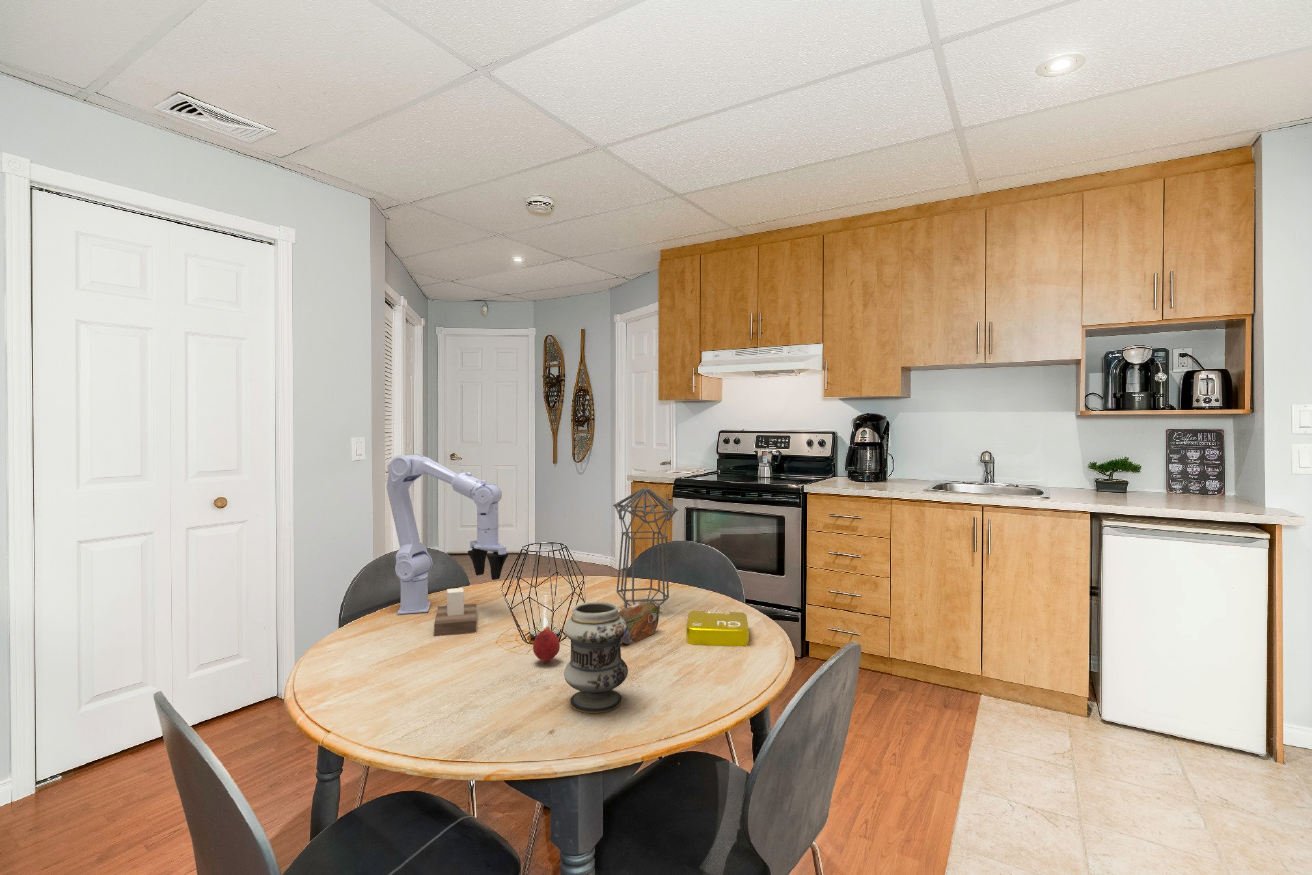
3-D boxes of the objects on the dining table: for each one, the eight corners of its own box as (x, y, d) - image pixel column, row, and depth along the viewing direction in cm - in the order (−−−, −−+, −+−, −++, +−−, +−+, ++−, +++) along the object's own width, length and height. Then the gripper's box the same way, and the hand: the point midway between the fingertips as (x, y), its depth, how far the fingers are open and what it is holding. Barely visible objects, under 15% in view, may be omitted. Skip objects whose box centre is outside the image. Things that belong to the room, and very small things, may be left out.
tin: (621, 648, 144) (621, 613, 144) (611, 645, 146) (611, 610, 146) (659, 632, 156) (659, 599, 156) (650, 629, 158) (650, 597, 158)
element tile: (746, 628, 160) (746, 610, 160) (749, 648, 145) (749, 628, 145) (688, 626, 162) (688, 608, 162) (685, 646, 147) (685, 626, 147)
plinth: (438, 616, 168) (438, 606, 168) (476, 614, 170) (476, 603, 170) (434, 635, 152) (434, 623, 152) (476, 632, 155) (476, 620, 155)
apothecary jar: (596, 683, 124) (596, 594, 124) (640, 699, 117) (641, 605, 117) (550, 703, 115) (550, 607, 115) (595, 723, 107) (596, 620, 107)
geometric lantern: (609, 606, 179) (612, 486, 179) (660, 603, 184) (663, 486, 184) (622, 621, 164) (625, 490, 164) (678, 617, 169) (680, 490, 169)
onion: (553, 668, 132) (554, 631, 132) (528, 666, 133) (528, 629, 133) (563, 658, 137) (563, 623, 137) (539, 656, 139) (539, 621, 138)
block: (446, 611, 162) (446, 589, 162) (462, 610, 164) (462, 587, 164) (447, 616, 159) (447, 592, 159) (463, 614, 160) (463, 591, 160)
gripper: (460, 527, 172) (460, 575, 172) (490, 532, 162) (490, 583, 162) (482, 524, 177) (482, 571, 177) (512, 529, 168) (512, 579, 168)
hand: (487, 576), depth 170 cm, fingers open, 7 cm apart
